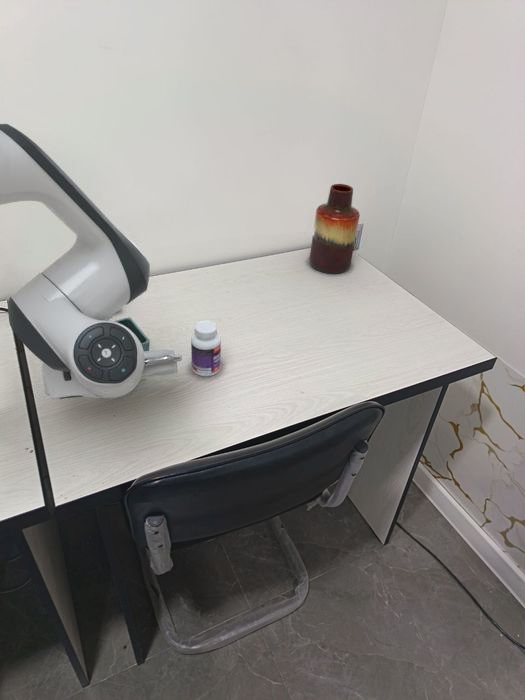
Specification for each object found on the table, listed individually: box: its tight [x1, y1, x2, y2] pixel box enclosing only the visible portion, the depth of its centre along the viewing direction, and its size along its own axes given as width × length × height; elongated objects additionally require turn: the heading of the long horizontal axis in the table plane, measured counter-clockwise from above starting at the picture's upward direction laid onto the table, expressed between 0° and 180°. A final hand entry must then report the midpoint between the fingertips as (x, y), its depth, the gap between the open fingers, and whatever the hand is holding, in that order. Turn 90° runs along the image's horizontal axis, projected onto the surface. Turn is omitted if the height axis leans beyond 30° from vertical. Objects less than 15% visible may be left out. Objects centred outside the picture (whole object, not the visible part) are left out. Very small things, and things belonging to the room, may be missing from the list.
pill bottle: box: [190, 319, 222, 377], centre depth 91 cm, size 5×5×10 cm
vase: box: [308, 183, 361, 275], centre depth 124 cm, size 11×11×20 cm
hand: (113, 375), depth 84 cm, fingers closed
